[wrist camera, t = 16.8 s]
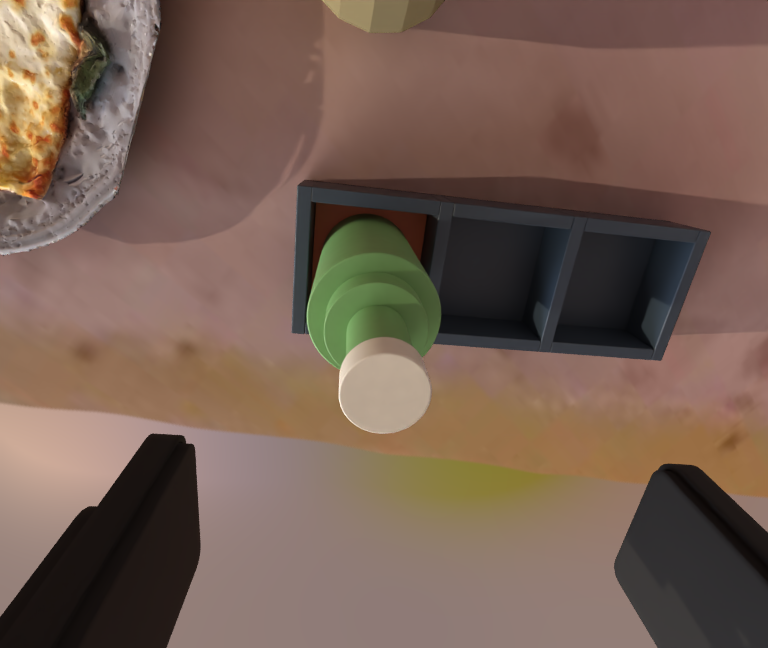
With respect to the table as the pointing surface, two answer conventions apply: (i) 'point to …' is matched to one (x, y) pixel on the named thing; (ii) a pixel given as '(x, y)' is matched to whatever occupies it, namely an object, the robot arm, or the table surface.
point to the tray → (521, 269)
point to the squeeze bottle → (383, 13)
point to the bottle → (375, 322)
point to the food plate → (67, 110)
